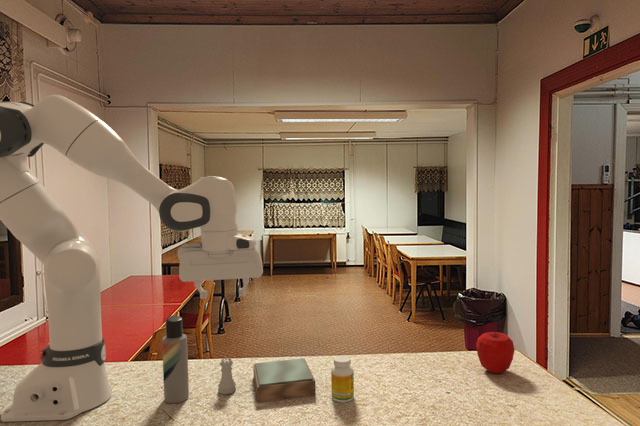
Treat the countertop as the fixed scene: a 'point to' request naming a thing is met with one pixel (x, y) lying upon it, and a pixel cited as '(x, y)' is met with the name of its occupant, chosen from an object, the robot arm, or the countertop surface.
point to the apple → (495, 351)
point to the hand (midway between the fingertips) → (223, 296)
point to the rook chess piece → (226, 377)
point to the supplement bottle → (342, 380)
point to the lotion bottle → (175, 361)
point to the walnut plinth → (283, 380)
